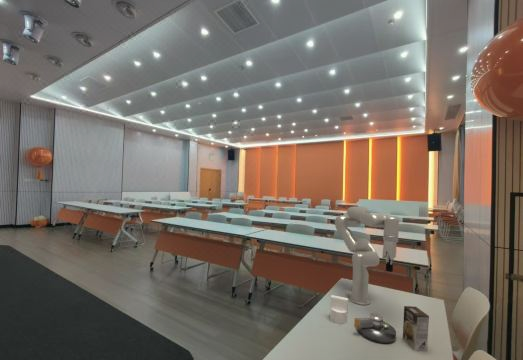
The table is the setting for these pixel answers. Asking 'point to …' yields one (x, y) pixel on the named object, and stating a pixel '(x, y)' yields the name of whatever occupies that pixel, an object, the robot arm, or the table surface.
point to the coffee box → (415, 328)
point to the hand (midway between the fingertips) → (389, 271)
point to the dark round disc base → (379, 333)
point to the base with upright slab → (339, 309)
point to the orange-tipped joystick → (369, 322)
